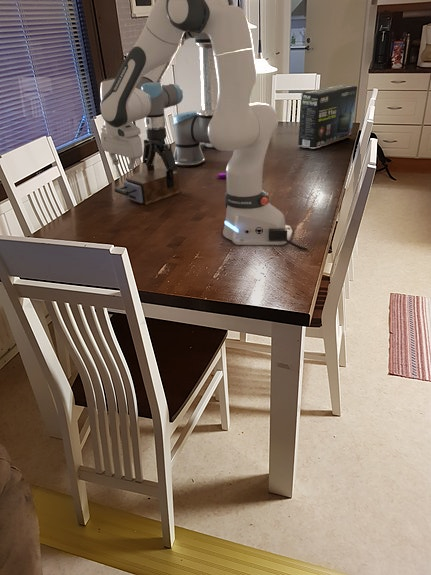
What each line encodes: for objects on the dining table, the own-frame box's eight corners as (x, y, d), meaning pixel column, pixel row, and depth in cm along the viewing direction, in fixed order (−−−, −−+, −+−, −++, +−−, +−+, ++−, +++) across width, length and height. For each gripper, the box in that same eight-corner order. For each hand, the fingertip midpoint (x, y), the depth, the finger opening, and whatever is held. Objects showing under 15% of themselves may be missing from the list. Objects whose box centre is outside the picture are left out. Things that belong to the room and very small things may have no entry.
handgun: (217, 176, 201) (217, 172, 200) (234, 175, 202) (234, 170, 201) (227, 191, 184) (227, 187, 183) (245, 189, 185) (245, 185, 184)
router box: (314, 151, 231) (318, 94, 217) (296, 148, 237) (299, 92, 224) (352, 138, 251) (358, 85, 238) (335, 135, 258) (340, 83, 245)
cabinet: (145, 204, 175) (143, 183, 171) (128, 198, 182) (125, 178, 177) (179, 192, 186) (178, 172, 181) (162, 187, 192) (160, 167, 188)
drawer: (129, 207, 171) (126, 190, 167) (114, 201, 177) (111, 185, 173) (173, 191, 184) (171, 176, 180) (157, 187, 190) (156, 171, 186)
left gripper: (129, 125, 178) (136, 180, 189) (168, 133, 164) (173, 192, 175) (144, 122, 182) (150, 176, 194) (183, 129, 168) (187, 187, 179)
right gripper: (93, 125, 165) (100, 163, 172) (128, 133, 153) (133, 174, 160) (108, 122, 169) (113, 159, 176) (143, 129, 157) (147, 169, 164)
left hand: (161, 184), depth 184 cm, fingers closed on cabinet, 11 cm apart
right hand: (123, 166), depth 168 cm, fingers open, 8 cm apart
